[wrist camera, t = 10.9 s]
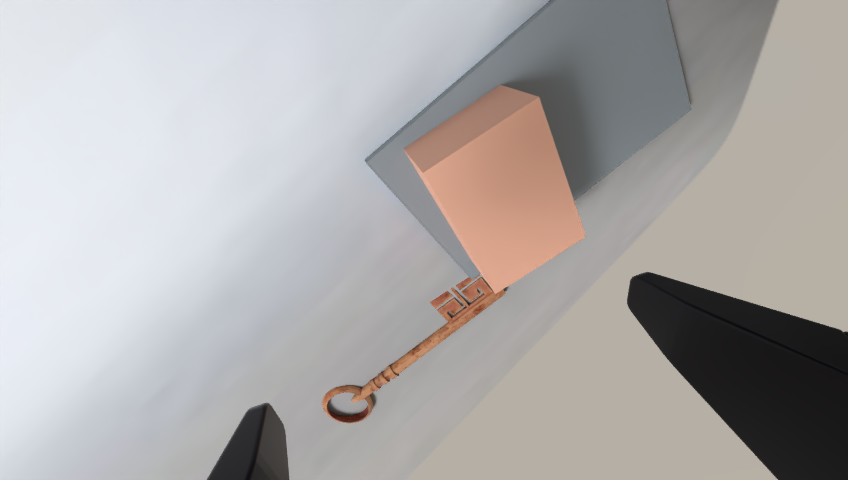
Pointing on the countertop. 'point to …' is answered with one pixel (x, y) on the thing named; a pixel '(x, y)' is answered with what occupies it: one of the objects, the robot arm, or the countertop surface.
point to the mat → (561, 96)
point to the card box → (500, 184)
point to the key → (423, 347)
